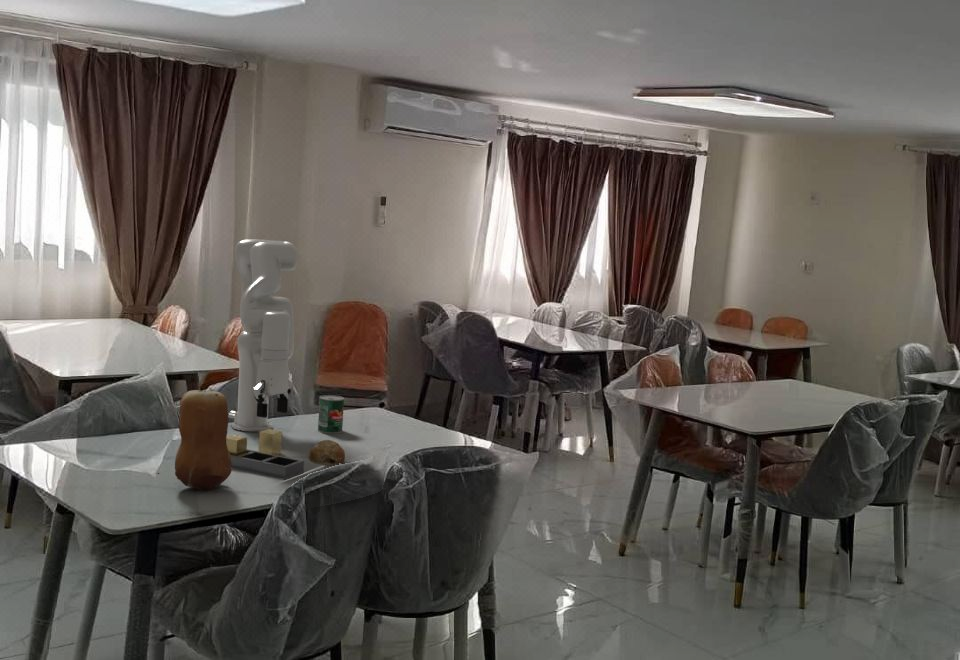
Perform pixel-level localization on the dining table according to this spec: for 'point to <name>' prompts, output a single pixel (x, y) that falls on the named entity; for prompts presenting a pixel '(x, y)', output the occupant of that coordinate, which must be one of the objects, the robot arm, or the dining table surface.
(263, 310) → the robot arm
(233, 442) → the khaki cardboard box
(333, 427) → the canned tomato
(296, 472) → the grey compartment tray
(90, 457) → the dining table surface
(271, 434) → the tan cubic block
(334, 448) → the bread roll
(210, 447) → the butternut squash
